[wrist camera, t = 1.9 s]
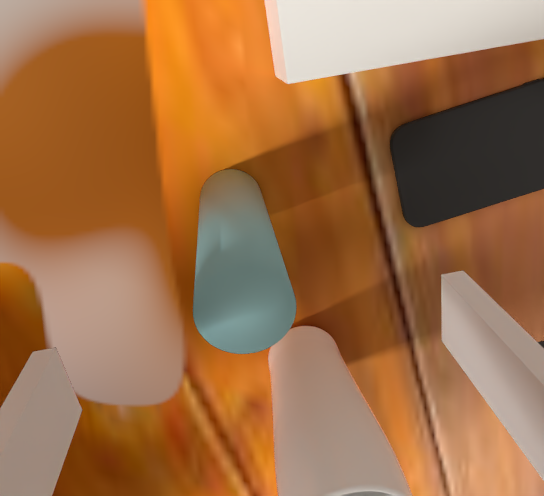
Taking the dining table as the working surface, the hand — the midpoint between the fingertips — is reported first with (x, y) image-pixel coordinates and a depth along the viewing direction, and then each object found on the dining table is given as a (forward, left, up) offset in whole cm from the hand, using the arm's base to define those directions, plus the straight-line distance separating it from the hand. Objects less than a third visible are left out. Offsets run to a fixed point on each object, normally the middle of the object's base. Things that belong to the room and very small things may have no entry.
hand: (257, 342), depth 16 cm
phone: (+18, 0, -17) cm, 25 cm away
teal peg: (0, 0, -16) cm, 16 cm away
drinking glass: (+3, -13, -17) cm, 21 cm away
